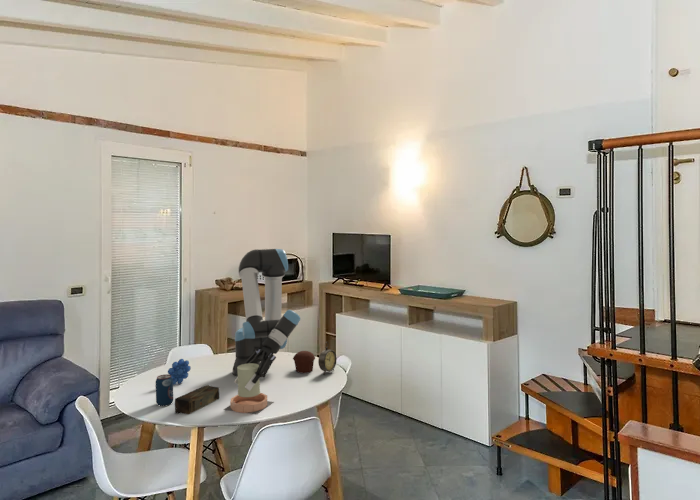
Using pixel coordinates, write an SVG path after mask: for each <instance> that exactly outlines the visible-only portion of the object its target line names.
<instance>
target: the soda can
mask: <svg viewBox="0 0 700 500" xmlns="http://www.w3.org/2000/svg"><path fill="white" fill-rule="evenodd" d="M173 402H174V385H173V379H172V377H171V375H170V374H168V373H167V374H160V375H157V376H156V379H155V403H156V405H160V406H159V407H167V406H166V405H168V406H170V405H172V404H173ZM171 403H172V404H171Z"/></svg>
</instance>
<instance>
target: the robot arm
mask: <svg viewBox="0 0 700 500" xmlns="http://www.w3.org/2000/svg"><path fill="white" fill-rule="evenodd" d="M287 271H289V261H288V256H287V252H286V251H285V250H284V249H283V248H262V249H251V250H250V251H248V252H247V253H245V255H244V256H243V257H242V259H241V260H240V262H239V265H238V276H239V278H240V279H241V286H242V296H243V302H244V312H245V320H246V321H244V322H243V323H242V327H241V328H239V329H238V330H236V331H235V334H234V342H235V344H234V345H235V347H234V348H235V360H234V363H233V367H232V375H233V376H235V377H236V378H235V380H234V383H235V385H238V372H237V367H238V366H239V365H242V364H248V363H254V364H258V365H259V367H258V370H257V372H255V374H254V375H253V376H252V378H251V379H250V380H249V382H248V383H247V384H246V386H245V388H246V389H247V390H249V391H250V390H251V389H252V387H253V386H254V385H255V383H256V382H257V381H258V379H259V380H260V378H265V377H266V375H267V373H268V372H269V369H270V367H271V366H272V364H273V362H274V361H275V360H276V358H277V356H275V355H276V354H277V353H278V352H279V351H280V350H283V349H284V348H286V346H287V343H288V338H289V336H290V335H291V334H292V333H293V331H294V330H295V329H296V327H297V326H298V324H299V323H300V321H301V317H300V315H299V314H298V313H297V312H295V311H294V310H292V309H287V310H286V311H285V312H284V313H283V315H282V308H283V307H282V304H283V303H282V301H283V300H282V298H283V297H282V296H283V295H282V292H283V291H282V283H283V282H282V281H283V277H285V275H286V274H285V273H287ZM259 273H261V276H262V277H263V278H264V316H263V309H262V302H261V294H260V288H259V280H258V276H259ZM263 317H264V319H263Z"/></svg>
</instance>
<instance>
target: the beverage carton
mask: <svg viewBox="0 0 700 500" xmlns="http://www.w3.org/2000/svg"><path fill="white" fill-rule="evenodd" d="M219 399H220V387H218V386H212V385H210V384H207V385H206V384H205V385H204V386H201V387H199V388H197V389H195V390H191V391H190V392H187V393H185V394H183V395H181V396H178V397H175V399H174V412H176V413H175V414H179V413H180V414H184V415H191V414H192V413H195V412H196V411H198V410H200V409H203V408H205V407H206V406H209V405H210V404H212V403H214V402H215V401H217V400H219Z"/></svg>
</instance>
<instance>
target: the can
mask: <svg viewBox="0 0 700 500" xmlns="http://www.w3.org/2000/svg"><path fill="white" fill-rule="evenodd" d="M258 367H259V365H258V364H254V363H248V364H242V365H239V366H238V367H237V372H238V376H237V377H238V384H237V395H238V396H240V397H254V396H257V395H259V394H260V393H261V384H260V378H259V379H258V381H257V382H256V383H255V385H254V386H253V387H252V389H251V390H250V391H249V390H247V389H246V388H245V386H246V384H247V383H248V382H249V380H250V379H251V378H252V376H253V375H254V374H255V372H257V370H258Z"/></svg>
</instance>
